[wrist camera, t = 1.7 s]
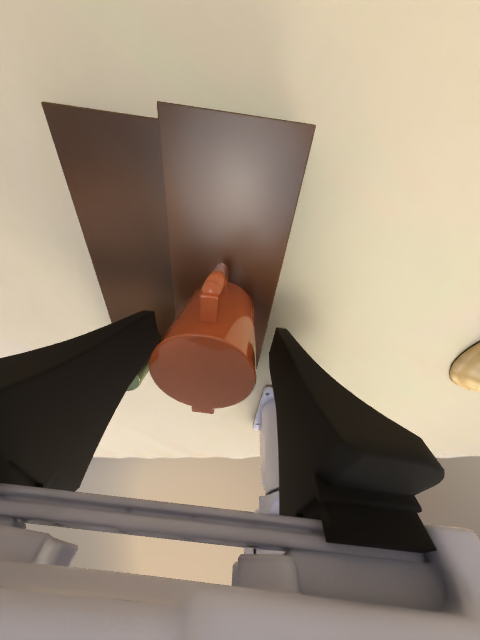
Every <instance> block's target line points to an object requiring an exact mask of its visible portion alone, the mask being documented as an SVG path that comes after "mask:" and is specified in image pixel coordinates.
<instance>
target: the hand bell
mask: <svg viewBox="0 0 480 640" xmlns="http://www.w3.org/2000/svg"><path fill="white" fill-rule="evenodd" d="M450 377H451V380H452V381H453V382H454V383H455V384H457V385H459V386H461V387H463V388H466V389H469V390H474V391H480V342H479V343H478V344H476V345H474V346H473V347H471V348H470V349H468V350H467V351H466V352H464V353H463V354H462V355H461V356H460V357H459V358H457V360H456V361H455V362H454V363H453V365H452V367H451V370H450Z"/></svg>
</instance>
